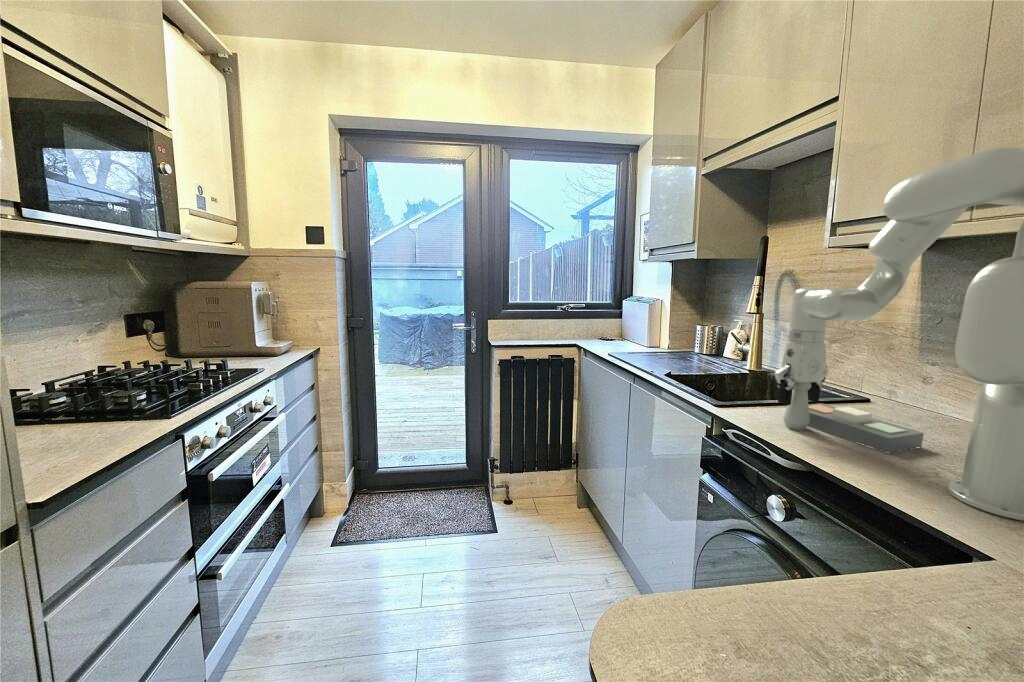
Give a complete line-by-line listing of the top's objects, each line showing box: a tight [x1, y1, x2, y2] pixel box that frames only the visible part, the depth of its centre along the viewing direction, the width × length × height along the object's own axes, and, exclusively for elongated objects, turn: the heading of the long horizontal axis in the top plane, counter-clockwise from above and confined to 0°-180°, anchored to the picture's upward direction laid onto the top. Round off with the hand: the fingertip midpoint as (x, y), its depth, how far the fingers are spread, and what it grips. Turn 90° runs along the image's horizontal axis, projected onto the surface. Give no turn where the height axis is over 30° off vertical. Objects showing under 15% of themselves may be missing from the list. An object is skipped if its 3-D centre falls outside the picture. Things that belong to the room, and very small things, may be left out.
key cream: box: [832, 406, 873, 424], centre depth 109 cm, size 6×6×4 cm
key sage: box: [864, 422, 906, 435], centre depth 102 cm, size 6×6×4 cm
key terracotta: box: [809, 405, 833, 414], centre depth 116 cm, size 6×6×4 cm
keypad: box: [807, 402, 925, 454], centre depth 109 cm, size 24×12×4 cm, turn 18°
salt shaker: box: [782, 382, 811, 431], centre depth 111 cm, size 6×6×13 cm
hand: (798, 402), depth 111 cm, fingers open, 9 cm apart
